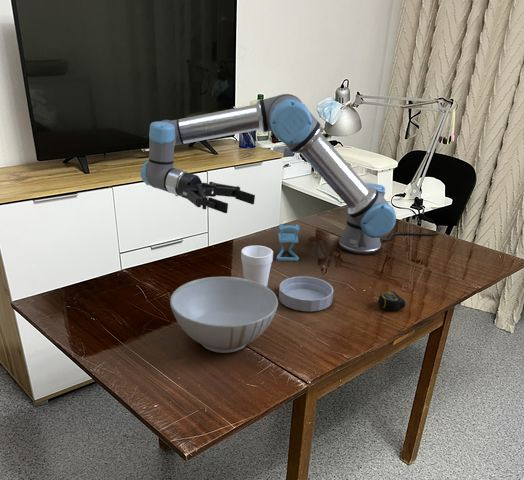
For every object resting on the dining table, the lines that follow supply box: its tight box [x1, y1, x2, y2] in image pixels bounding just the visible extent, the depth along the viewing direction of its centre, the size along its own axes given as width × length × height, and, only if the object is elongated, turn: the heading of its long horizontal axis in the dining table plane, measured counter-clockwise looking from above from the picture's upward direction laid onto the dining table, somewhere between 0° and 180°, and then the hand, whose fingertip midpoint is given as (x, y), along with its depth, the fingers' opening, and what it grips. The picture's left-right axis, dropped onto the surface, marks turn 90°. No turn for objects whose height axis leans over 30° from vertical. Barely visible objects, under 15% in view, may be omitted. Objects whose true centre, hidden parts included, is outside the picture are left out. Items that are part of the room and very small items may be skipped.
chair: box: [276, 223, 300, 262], centre depth 190 cm, size 8×8×12 cm
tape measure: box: [378, 291, 407, 311], centre depth 162 cm, size 7×7×4 cm
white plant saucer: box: [278, 275, 335, 312], centre depth 164 cm, size 16×16×4 cm
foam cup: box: [240, 245, 274, 287], centre depth 165 cm, size 10×9×13 cm
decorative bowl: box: [169, 276, 279, 354], centre depth 140 cm, size 27×27×12 cm
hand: (240, 204), depth 159 cm, fingers open, 13 cm apart
